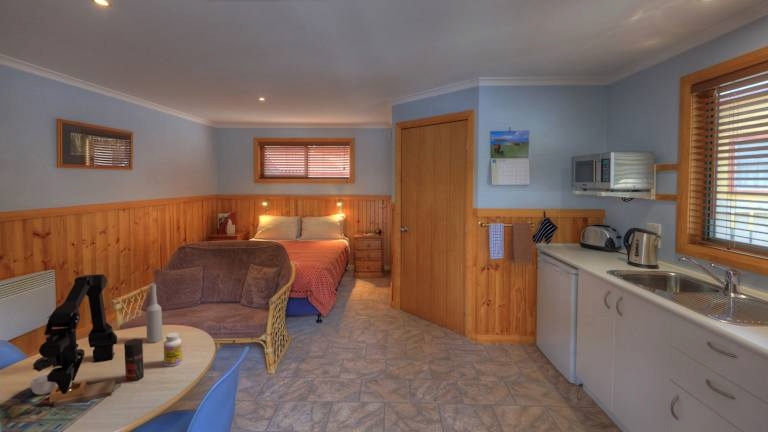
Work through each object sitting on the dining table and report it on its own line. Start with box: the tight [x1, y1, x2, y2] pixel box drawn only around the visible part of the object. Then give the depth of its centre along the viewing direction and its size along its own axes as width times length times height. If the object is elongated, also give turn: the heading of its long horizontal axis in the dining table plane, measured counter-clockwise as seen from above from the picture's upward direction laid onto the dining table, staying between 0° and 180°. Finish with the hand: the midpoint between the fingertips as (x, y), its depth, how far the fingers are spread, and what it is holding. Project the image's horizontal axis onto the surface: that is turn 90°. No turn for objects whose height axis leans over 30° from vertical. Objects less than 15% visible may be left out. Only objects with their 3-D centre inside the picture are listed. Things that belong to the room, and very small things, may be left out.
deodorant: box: [123, 338, 145, 383], centre depth 144 cm, size 6×6×15 cm
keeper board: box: [53, 379, 117, 408], centre depth 133 cm, size 16×9×2 cm, turn 118°
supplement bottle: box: [163, 332, 183, 368], centre depth 157 cm, size 7×7×13 cm
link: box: [48, 380, 88, 402], centre depth 131 cm, size 9×6×2 cm, turn 118°
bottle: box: [145, 283, 164, 344], centre depth 178 cm, size 7×7×28 cm
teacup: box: [29, 372, 58, 396], centre depth 135 cm, size 10×8×5 cm
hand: (68, 387), depth 130 cm, fingers open, 9 cm apart
